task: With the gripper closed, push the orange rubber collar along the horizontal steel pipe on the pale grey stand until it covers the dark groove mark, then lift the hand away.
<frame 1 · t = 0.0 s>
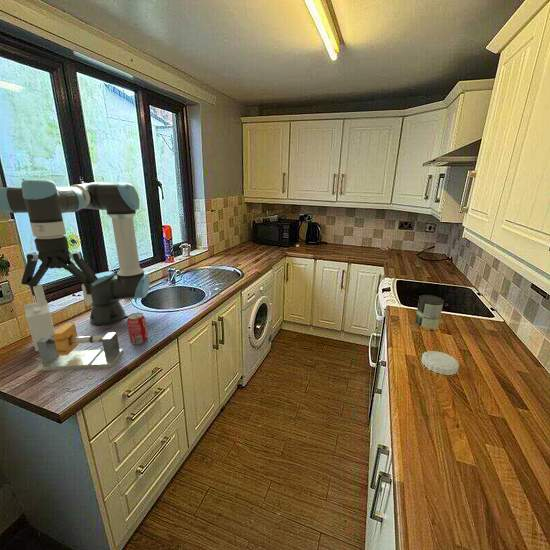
hand: (66, 304, 88), 28 cm above the worktop, tool pointing down, fingers open, 13 cm apart
collar: (66, 339, 104), point 10 cm above the worktop, slide at -4.0 cm
milk carton: (46, 345, 118), on the worktop
soda can: (139, 341, 121), on the worktop
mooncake: (438, 367, 106), on the worktop
coffee can: (426, 326, 137), on the worktop
pipe stand: (83, 360, 107), on the worktop
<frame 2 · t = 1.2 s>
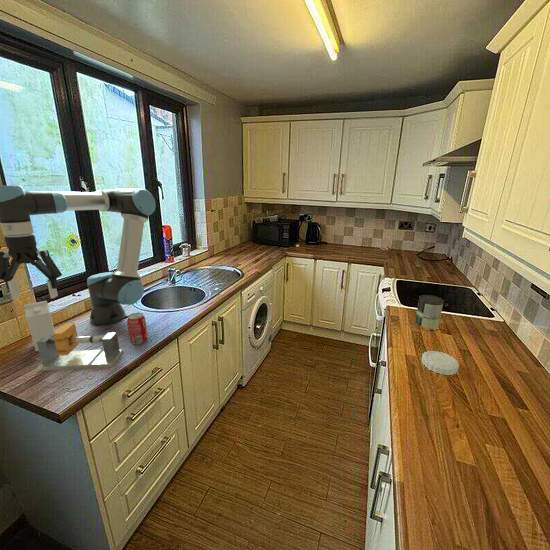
hand: (35, 297, 99), 26 cm above the worktop, tool pointing down, fingers open, 11 cm apart
nothing on the worktop moved.
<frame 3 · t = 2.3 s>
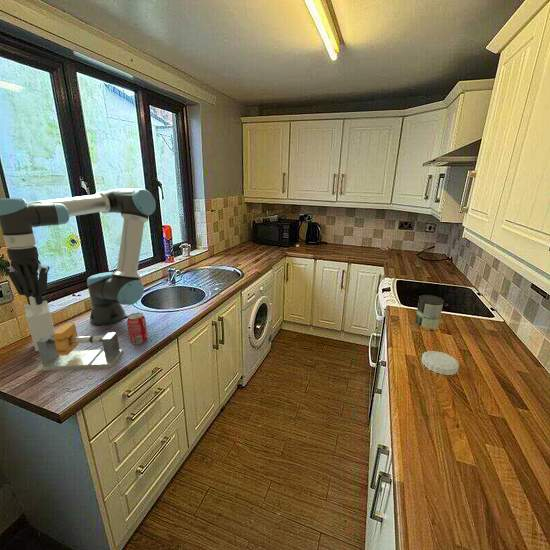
hand: (38, 312, 100), 20 cm above the worktop, tool pointing down, fingers closed
nothing on the worktop moved.
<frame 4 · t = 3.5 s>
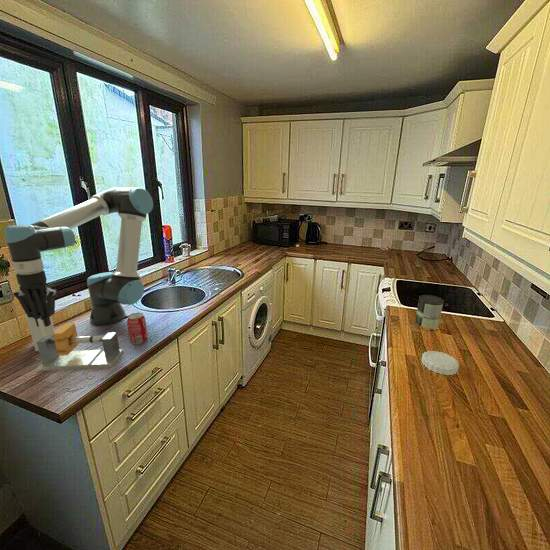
hand: (46, 333, 103), 12 cm above the worktop, tool pointing down, fingers closed
nothing on the worktop moved.
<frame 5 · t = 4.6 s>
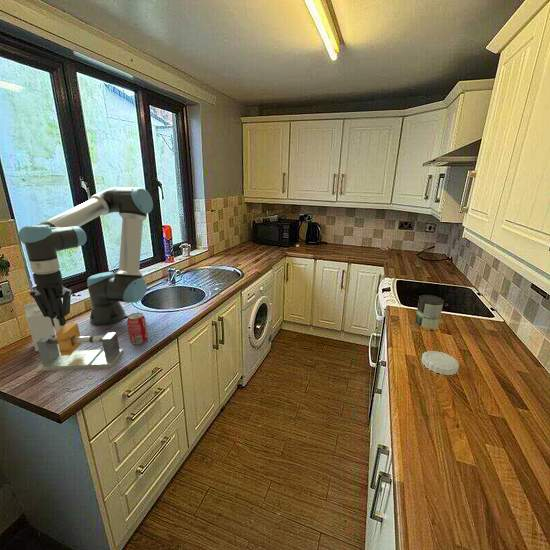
hand: (61, 333, 103), 12 cm above the worktop, tool pointing down, fingers closed
collar: (69, 338, 104), point 10 cm above the worktop, slide at -3.0 cm, touching gripper
everything else where it was.
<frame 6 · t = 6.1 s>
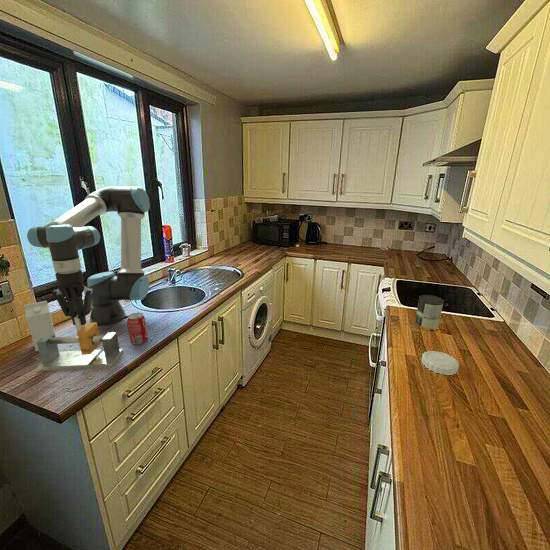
hand: (81, 332, 104), 12 cm above the worktop, tool pointing down, fingers closed
collar: (89, 338, 105), point 10 cm above the worktop, slide at 4.0 cm, touching gripper
everything else where it was.
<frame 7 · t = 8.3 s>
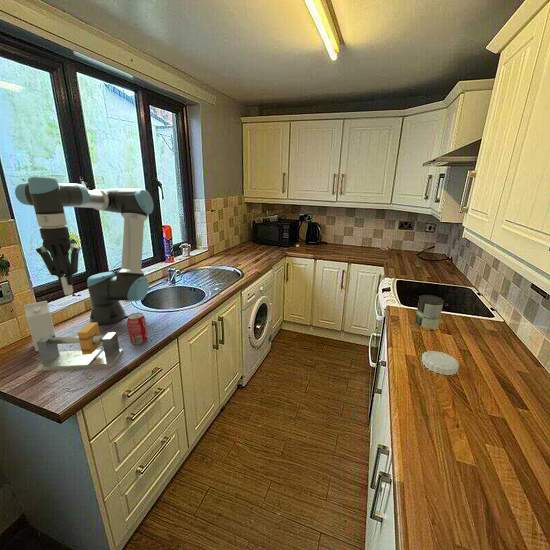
hand: (69, 293, 100), 27 cm above the worktop, tool pointing down, fingers closed
collar: (90, 338, 105), point 10 cm above the worktop, slide at 4.2 cm
everything else where it was.
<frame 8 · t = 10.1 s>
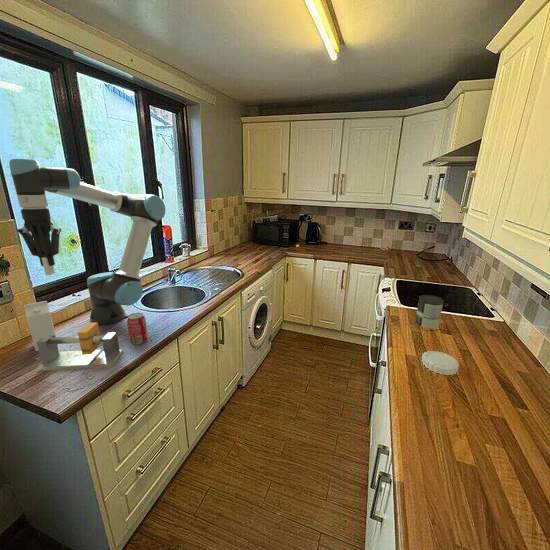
hand: (50, 274, 104), 32 cm above the worktop, tool pointing down, fingers closed
nothing on the worktop moved.
at the end: collar slide at 4.2 cm; milk carton moved 0.2 cm from its start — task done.
